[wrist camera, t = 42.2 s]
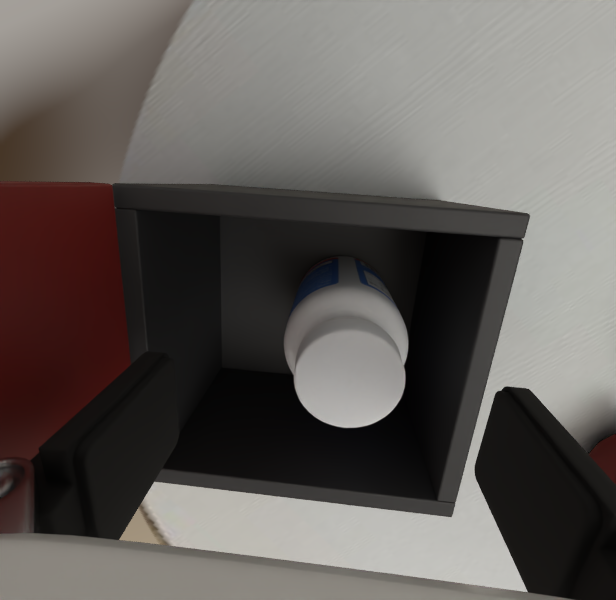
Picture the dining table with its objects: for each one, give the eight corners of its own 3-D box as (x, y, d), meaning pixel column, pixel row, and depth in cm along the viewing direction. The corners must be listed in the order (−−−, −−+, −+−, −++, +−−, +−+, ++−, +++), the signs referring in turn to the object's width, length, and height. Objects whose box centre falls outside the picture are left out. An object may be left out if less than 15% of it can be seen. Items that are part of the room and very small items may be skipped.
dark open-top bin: (442, 200, 20) (531, 213, 11) (408, 390, 24) (452, 518, 15) (211, 184, 21) (110, 183, 12) (214, 370, 25) (141, 480, 16)
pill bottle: (297, 335, 23) (269, 438, 13) (298, 252, 21) (268, 305, 12) (382, 340, 22) (415, 450, 13) (391, 256, 21) (435, 314, 11)
